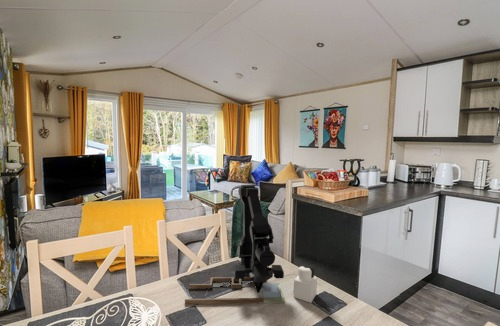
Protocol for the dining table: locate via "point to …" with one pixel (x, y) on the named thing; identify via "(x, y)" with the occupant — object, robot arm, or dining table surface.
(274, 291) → the block
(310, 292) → the medicine bottle
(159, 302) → the dining table surface
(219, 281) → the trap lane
